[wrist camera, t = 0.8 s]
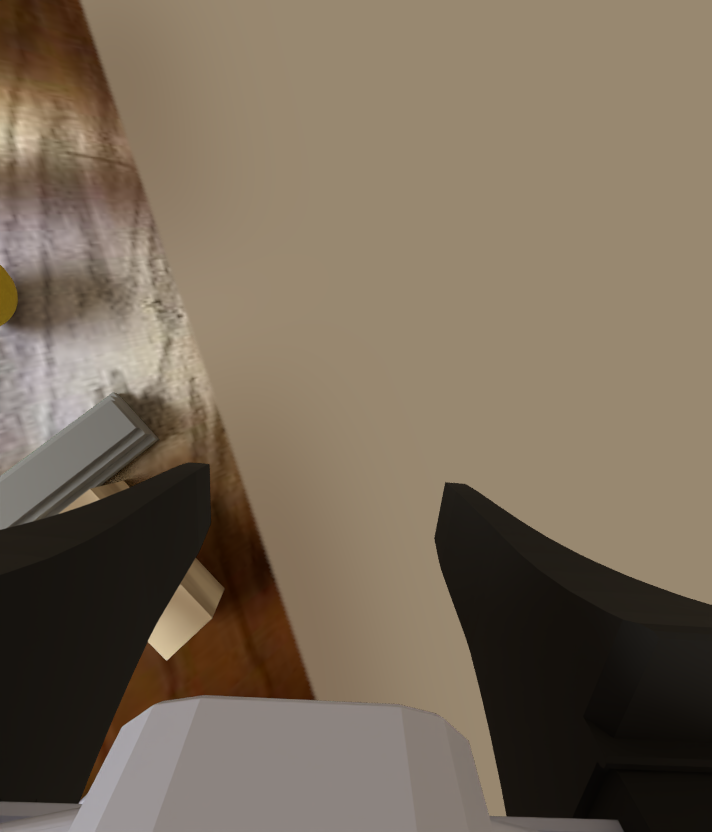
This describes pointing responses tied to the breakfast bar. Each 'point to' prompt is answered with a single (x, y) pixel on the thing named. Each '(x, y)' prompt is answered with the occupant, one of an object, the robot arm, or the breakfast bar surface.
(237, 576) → the breakfast bar surface
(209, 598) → the bar
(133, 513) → the robot arm
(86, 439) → the stepped block
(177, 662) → the breakfast bar surface
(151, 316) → the breakfast bar surface
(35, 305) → the breakfast bar surface
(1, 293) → the lemon
